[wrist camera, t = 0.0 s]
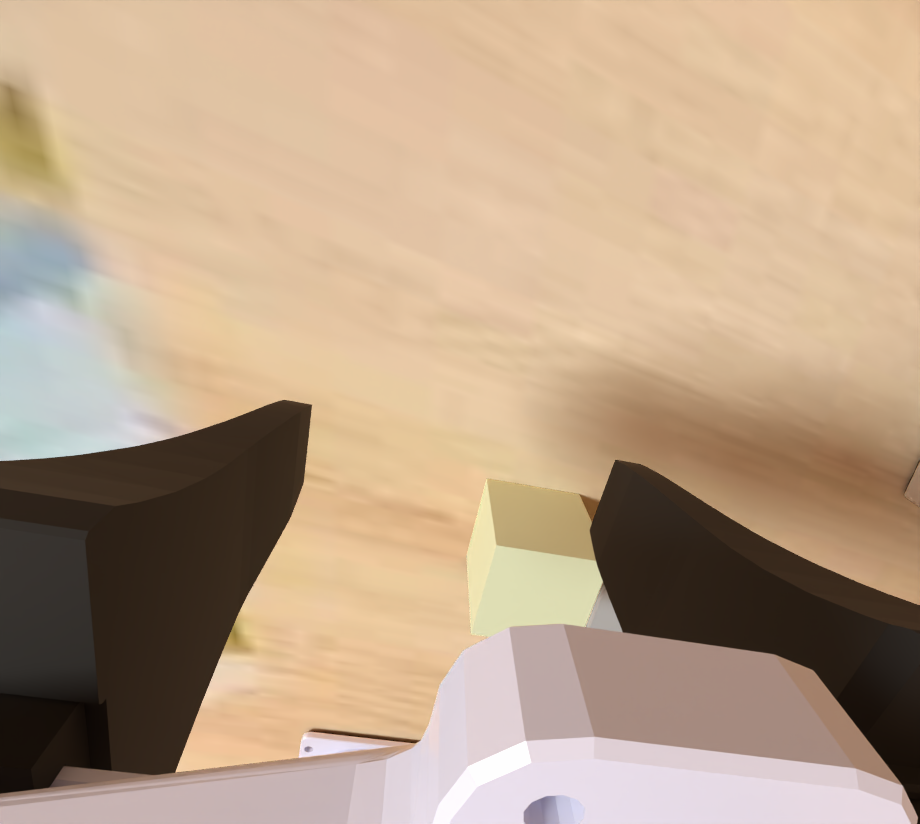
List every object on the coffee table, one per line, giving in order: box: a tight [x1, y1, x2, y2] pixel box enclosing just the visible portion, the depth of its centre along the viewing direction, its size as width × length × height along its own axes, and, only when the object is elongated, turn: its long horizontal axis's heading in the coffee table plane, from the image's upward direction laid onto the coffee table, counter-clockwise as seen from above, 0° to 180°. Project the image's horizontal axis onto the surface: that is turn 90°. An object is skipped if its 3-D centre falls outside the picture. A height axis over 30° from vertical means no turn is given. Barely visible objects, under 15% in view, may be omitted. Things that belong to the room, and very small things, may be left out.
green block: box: [466, 479, 603, 637], centre depth 23 cm, size 4×4×5 cm
